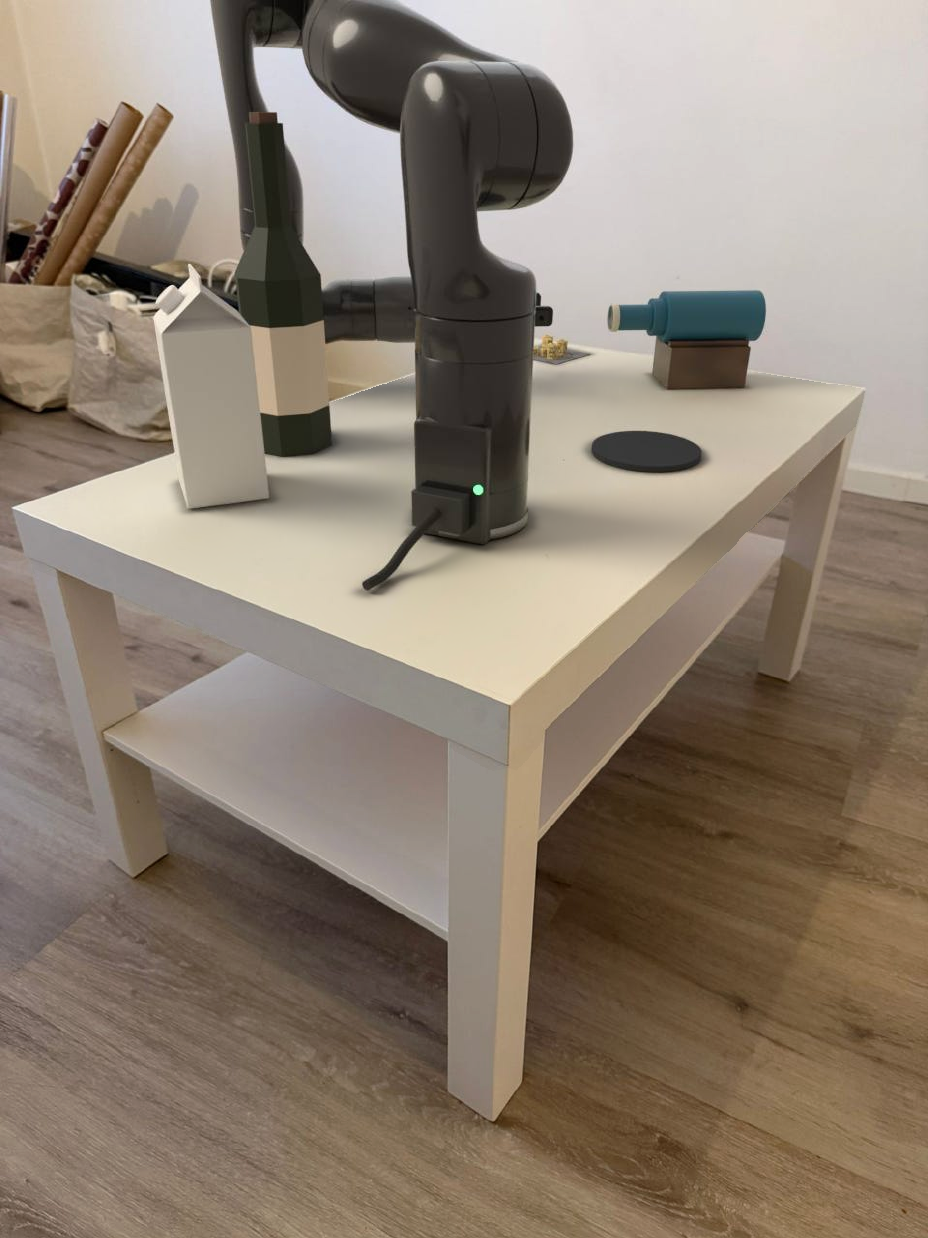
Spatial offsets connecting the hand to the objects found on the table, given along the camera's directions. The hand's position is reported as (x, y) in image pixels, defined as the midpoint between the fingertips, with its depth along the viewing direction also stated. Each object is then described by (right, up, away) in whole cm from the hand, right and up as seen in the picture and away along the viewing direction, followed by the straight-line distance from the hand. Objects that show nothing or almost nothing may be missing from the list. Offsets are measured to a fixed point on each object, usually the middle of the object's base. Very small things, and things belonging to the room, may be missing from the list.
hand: (546, 308), depth 110 cm
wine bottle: (-28, -20, -16) cm, 38 cm away
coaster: (+9, -21, -18) cm, 29 cm away
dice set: (+2, 0, +18) cm, 18 cm away
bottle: (+17, -3, +3) cm, 18 cm away
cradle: (+20, -7, +6) cm, 22 cm away
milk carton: (-32, -26, -28) cm, 50 cm away
